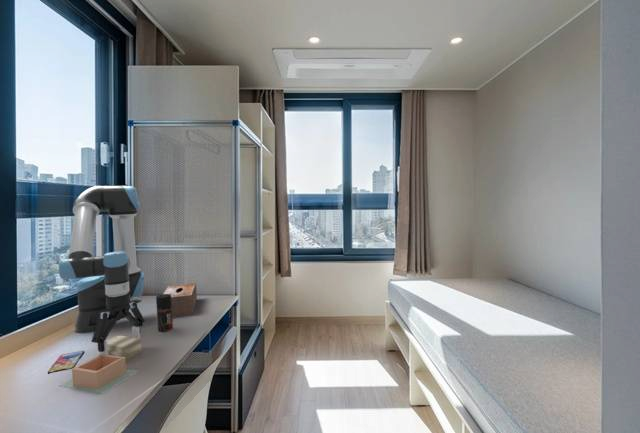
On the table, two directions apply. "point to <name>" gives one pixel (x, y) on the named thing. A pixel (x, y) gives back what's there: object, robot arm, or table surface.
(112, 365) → the peach open-top box
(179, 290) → the tissue box cover
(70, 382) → the felt mat
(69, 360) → the smartphone
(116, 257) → the robot arm
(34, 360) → the table surface
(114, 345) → the beige block
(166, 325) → the deodorant
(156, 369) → the table surface
